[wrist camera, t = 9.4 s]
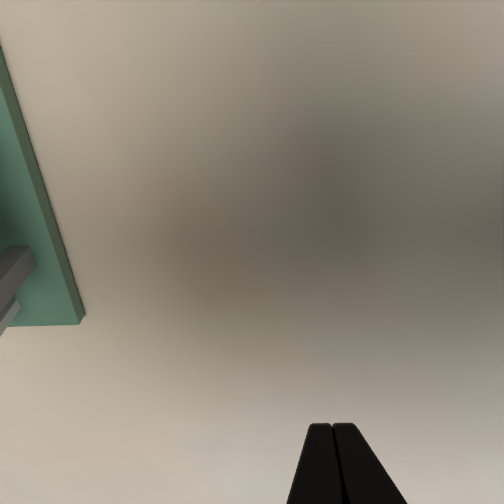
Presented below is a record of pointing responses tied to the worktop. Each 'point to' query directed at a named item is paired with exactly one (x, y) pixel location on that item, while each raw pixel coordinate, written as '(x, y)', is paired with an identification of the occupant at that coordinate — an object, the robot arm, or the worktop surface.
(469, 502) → the worktop surface
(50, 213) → the circuit board module
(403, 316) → the worktop surface
